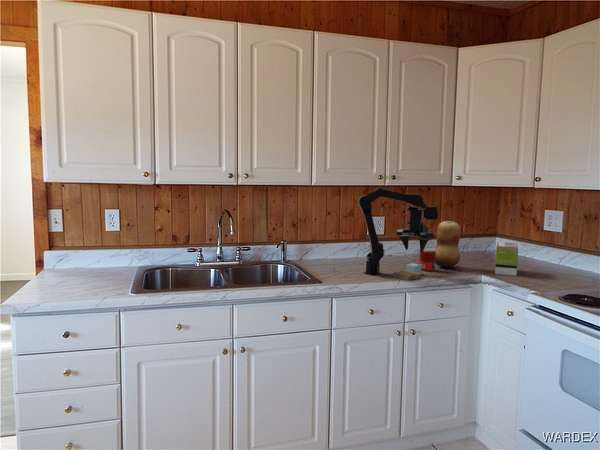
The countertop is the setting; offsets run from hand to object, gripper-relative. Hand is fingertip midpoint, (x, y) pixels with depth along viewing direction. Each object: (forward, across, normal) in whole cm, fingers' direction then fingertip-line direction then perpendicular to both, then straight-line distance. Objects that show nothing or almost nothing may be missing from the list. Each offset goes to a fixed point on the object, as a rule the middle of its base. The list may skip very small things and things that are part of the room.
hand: (414, 251), depth 204 cm
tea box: (+12, -24, -44) cm, 51 cm away
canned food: (+12, +2, -14) cm, 19 cm away
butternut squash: (+12, 0, -28) cm, 30 cm away
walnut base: (+12, -2, +8) cm, 14 cm away
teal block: (+12, 0, 0) cm, 12 cm away
